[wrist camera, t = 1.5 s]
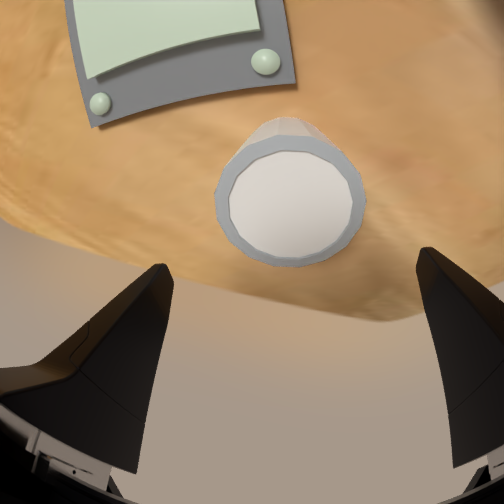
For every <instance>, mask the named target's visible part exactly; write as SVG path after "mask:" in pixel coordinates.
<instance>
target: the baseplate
mask: <svg viewBox="0 0 504 504" xmlns="http://www.w3.org/2000/svg"><path fill="white" fill-rule="evenodd" d="M64 1H65V9H66V17H67V24H68V30H69V36H70V42H71V48H72V53H73V58H74V63H75V67H76V72H77V76H78V80H79V85H80V89H81V93H82V97H83V100H84V104H85V108H86V111H87V115H88V118H89V122H90V125H91V128H94V127H96V126H99V125H102V124H104V123H107V122H110V121H113V120H116V119H118V118H121V117H124V116H128V115H131V114H134V113H137V112H140V111H144V110H147V109H151V108H154V107H158V106H161V105H165V104H169V103H173V102H177V101H181V100H186V99H190V98H195V97H199V96H204V95H209V94H215V93H220V92H226V91H232V90H238V89H245V88H253V87H261V86H270V85H280V84H292V83H296V82H295V74H294V67H293V60H292V53H291V46H290V40H289V33H288V27H287V21H286V16H285V10H284V5H283V0H64Z"/></svg>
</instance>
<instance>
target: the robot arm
mask: <svg viewBox="0 0 504 504" xmlns="http://www.w3.org/2000/svg"><path fill="white" fill-rule="evenodd" d="M416 273H417V278H418V282H419V286H420V291H421V296H422V300H423V305H424V309H425V313H426V316H427V320H428V323H429V327H430V330H431V334H432V338H433V342H434V345H435V350H436V354H437V358H438V362H439V367H440V371H441V376H442V381H443V386H444V392H445V397H446V404H447V410H448V414H449V415H448V418H449V426H450V435H451V446H452V459H453V468H456V467H459V466H462V465H464V464H467V463H469V462H471V461H474V460H476V459H478V458H480V457H483V456H485V455H487V457H488V465H485V466H483V467H481V468H479V469H478V470H477V472H476V474H475V475H474V476H473V478H472V480H471V481H470V483H469V485H468V486H467V488H466V490H465V491H464V492H463V494H461V495H459V496H457V497H454V498H452V499H449V500H446V501H444V502H441V503H438V504H504V303H503V302H502V301H501V300H499V298H498V297H496V296H495V295H494V294H493V293H492V292H490V291H489V290H488V289H487V288H486V287H484V286H483V285H482V284H481V283H479V282H478V281H477V280H476V279H474V278H473V277H472V276H471V275H469V274H468V273H467V272H465V271H464V270H463V269H462V268H460V267H459V266H458V265H456V264H455V263H454V262H452V261H451V260H449V259H448V258H447V257H445V256H444V255H443V254H441V253H440V252H438V251H437V250H436V249H434V248H433V247H423V248H421V250H420V253H419V257H418V260H417V264H416ZM173 287H174V281H173V278H172V276H171V274H170V271H169V269H168V267H167V265H166V264H164V263H161V264H154V265H153V266H152V267H151V268H149V269H148V270H147V271H146V272H144V273H143V274H142V275H141V276H140V277H138V278H137V279H136V280H135V281H134V282H133V283H131V284H130V285H129V286H128V287H127V288H125V289H124V290H123V291H122V292H121V293H119V294H118V295H117V296H116V297H115V298H114V299H113V300H111V301H110V302H109V303H108V304H107V305H106V306H105V307H103V308H102V309H101V310H100V311H99V312H98V313H96V314H95V315H94V316H93V317H92V318H91V319H90V321H87V322H86V323H85V324H84V325H83V326H82V327H81V328H80V329H79V330H77V331H76V332H75V333H74V334H73V335H72V336H71V337H69V338H68V339H67V340H65V341H64V342H63V343H62V344H61V345H59V346H58V347H57V348H56V349H54V350H53V351H52V352H51V353H49V354H48V355H47V356H46V357H44V358H43V359H42V360H40V361H39V362H37V363H35V364H33V365H29V366H20V367H9V368H0V504H138V503H135V502H132V501H129V500H127V499H124V498H123V496H122V495H121V493H120V491H119V490H118V488H117V486H116V484H115V483H114V481H113V479H112V477H111V476H110V472H111V468H112V467H115V468H118V469H121V470H124V471H127V472H130V473H133V474H136V473H137V468H138V462H139V456H140V450H141V444H142V439H143V433H144V428H145V424H144V423H145V422H146V416H147V411H148V406H149V401H150V397H151V392H152V387H153V383H154V378H155V374H156V370H157V365H158V361H159V356H160V352H161V349H162V344H163V340H164V336H165V333H166V329H167V324H168V320H169V313H170V306H171V300H172V294H173Z"/></svg>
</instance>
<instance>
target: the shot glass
mask: <svg viewBox="0 0 504 504" xmlns="http://www.w3.org/2000/svg"><path fill="white" fill-rule="evenodd" d="M214 194H215V206H216V216H217V221H218V222H219V224H220V226H221V228H222V229H223V231H224V233H225V235H226V236H227V238H228V240H229V241H230V242H231V243H232V244H233V245H234V246H236V247H237V248H238V249H239V250H241V251H242V252H243V253H244V254H246V255H247V256H248V257H250V258H252V259H255V260H258V261H261V262H263V263H266V264H269V265H272V266H282V267H302V266H306V265H310V264H314V263H318V262H321V261H325V260H326V259H328V258H329V257H331V256H332V255H334V254H336V253H337V252H339V251H340V250H342V249H343V248H345V247H346V246H347V245H348V243H349V242H350V240H351V239H352V238H353V236H354V235H355V234H356V232H357V231H358V229H359V228H360V227H361V224H362V219H363V215H364V210H365V205H366V197H365V192H364V188H363V184H362V180H361V176H360V173H359V172H358V171H357V170H356V168H355V167H354V166H353V165H352V163H351V162H350V161H349V160H348V158H347V157H346V156H345V155H344V154H343V152H342V151H341V150H340V149H339V148H338V147H337V146H336V145H335V144H334V143H332V142H331V141H330V140H329V139H328V138H327V137H326V136H325V135H324V134H323V133H322V132H321V131H320V130H318V129H317V128H316V127H315V126H314V125H312V124H310V123H308V122H306V121H304V120H301V119H299V118H292V117H279V118H276V119H273V120H270V121H267V122H264V123H263V124H262V125H261V126H260V127H259V128H257V129H256V130H255V131H254V132H253V133H252V134H251V135H250V136H249V138H248V139H247V140H246V141H245V142H244V144H243V145H242V146H241V147H240V148H239V150H238V151H237V152H236V153H235V155H234V156H233V157H232V158H231V160H230V161H229V162H228V163H227V165H226V166H225V167H224V169H223V172H222V175H221V177H220V180H219V183H218V185H217V188H216V191H215V193H214Z"/></svg>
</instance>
